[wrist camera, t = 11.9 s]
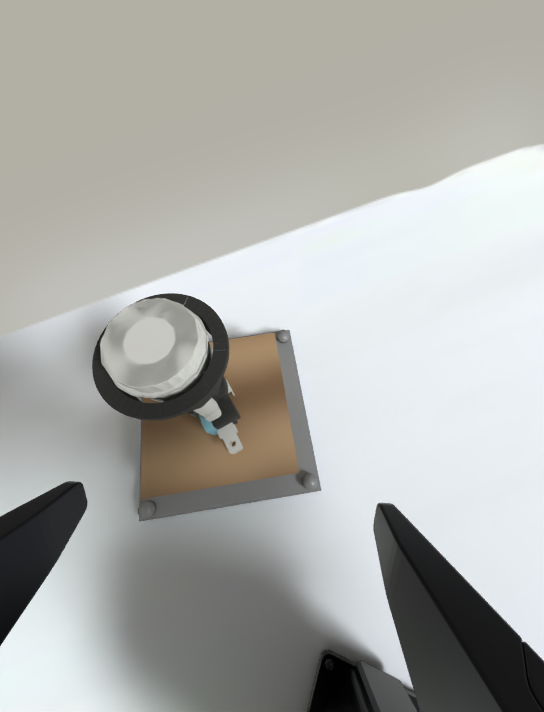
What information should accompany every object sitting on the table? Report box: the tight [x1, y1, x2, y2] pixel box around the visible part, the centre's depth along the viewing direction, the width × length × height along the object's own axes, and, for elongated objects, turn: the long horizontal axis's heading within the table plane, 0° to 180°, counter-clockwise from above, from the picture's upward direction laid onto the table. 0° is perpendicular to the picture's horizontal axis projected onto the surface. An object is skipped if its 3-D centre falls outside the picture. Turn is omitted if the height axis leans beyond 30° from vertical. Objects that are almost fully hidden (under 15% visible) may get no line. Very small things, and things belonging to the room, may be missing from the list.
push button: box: [92, 294, 243, 454], centre depth 14 cm, size 7×5×10 cm
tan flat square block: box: [141, 332, 299, 499], centre depth 20 cm, size 10×10×3 cm
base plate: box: [138, 330, 321, 521], centre depth 22 cm, size 13×13×2 cm
